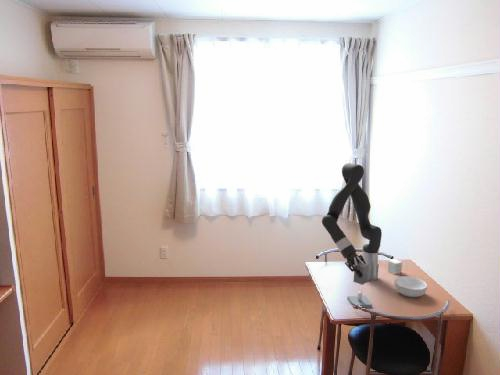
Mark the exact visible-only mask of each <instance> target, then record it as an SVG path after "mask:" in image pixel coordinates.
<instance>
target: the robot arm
mask: <svg viewBox="0 0 500 375" xmlns="http://www.w3.org/2000/svg"><path fill="white" fill-rule="evenodd" d="M364 174H365V170H364V167H363V166H362V165H361V164H356V163H351V162H350V163H348V162H347V163H344V164H343V166H342V168H341V176H342V178H343V180H344V183H345V185H344V186H343V188H341V190H339V191H338V192H337V193H336V194H335V195H334V197H333V199H331V200H332V201H331V203H330V204H329V207H328V211H327V213H326V215H325V216H323V217H322V219H321V224H322V226H323V227H324V229H325V230H326V232H328V234H329V235H330V237H331V239H332V241H333V243H334V244H335V246H336V248H337V250H338V251H339V252H340V254H341V255H342V257H343V259H345V260H346V261H345V262H344V265H346V267H347V268H348V269H349V271H351V272H353V273H354V272H356V274H357V275H358V277H359V278H361V277H362V276H363V275H362V273H361V272H360V270H358V267H357V265H358V264H357V263H364V264H367V265H369V270H368V281H376V280H378V279H379V269H380V268H379V266H380V264H379V263H378V262H379V261H378V260H379V250H380V248H381V241H382V228H381V227H379V226H377V225H374V224H371V222H370V219H369V214H370V212H371V202H370V199H369V196H368V195H367V193H366V191H365V190H364V189H363V188H362V186H361V185H360V184H359V183H360V182H361V180H362V179H363V176H364ZM349 198H351V201H352V205H353V208H354V210H355V214H356V217H357V220H358V225H359V231H360V235H361V237H362V238H364V239H366V240H368V243H367V244H364V245H362V252H361V253H362V254H359V255H358V254H357V249H356V248H355V246H354V245H353V244H352V242H351V240H350V239H349V238H348V237H347V236H346V234H345V233H344V231H343V230H342V229H341V228H340V226H339V224H338V221H339V217H340V214H341V213H342V211H343V209H344V207H345V206H346V203H347V201H348V199H349ZM355 267H356V268H355Z"/></svg>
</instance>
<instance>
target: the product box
mask: <svg viewBox="0 0 500 375" xmlns="http://www.w3.org/2000/svg"><path fill="white" fill-rule="evenodd" d="M387 262H388V263H387V273H388V272H389V273H390V272H391V274H393V275H398V274H401V273H402V269H403V268H402V267H403V261H401V260H398V259H395V258H394V259H390V260H388V261H387Z"/></svg>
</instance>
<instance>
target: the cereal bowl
mask: <svg viewBox="0 0 500 375" xmlns="http://www.w3.org/2000/svg"><path fill="white" fill-rule="evenodd" d="M394 287H395V289H396V290H397V291H398V293H400V294H402V295H403V296H405V297H408V298H417V297H421V296H423V295H425V294H426V292H427V289H428V284H427V283H426V282H425V281H424V280H422V279H420V278H417V277H413V276H408V275H407V276H406V275H405V276H403V275H402V276H399V277H396V278H395V279H394Z"/></svg>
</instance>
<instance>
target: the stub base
mask: <svg viewBox="0 0 500 375" xmlns="http://www.w3.org/2000/svg"><path fill="white" fill-rule="evenodd" d="M346 300H348V302H349V304H350V305H351V306H352V303H355V304H357V305H360V306H362V307H361V308H373V303H372V302H371V301H370V300H369V298H368V297H367V296H366V295H363V291H358V292H357V295H348V296H347V297H346ZM352 308H355V307H354V306H352ZM355 309H356V308H355Z"/></svg>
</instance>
